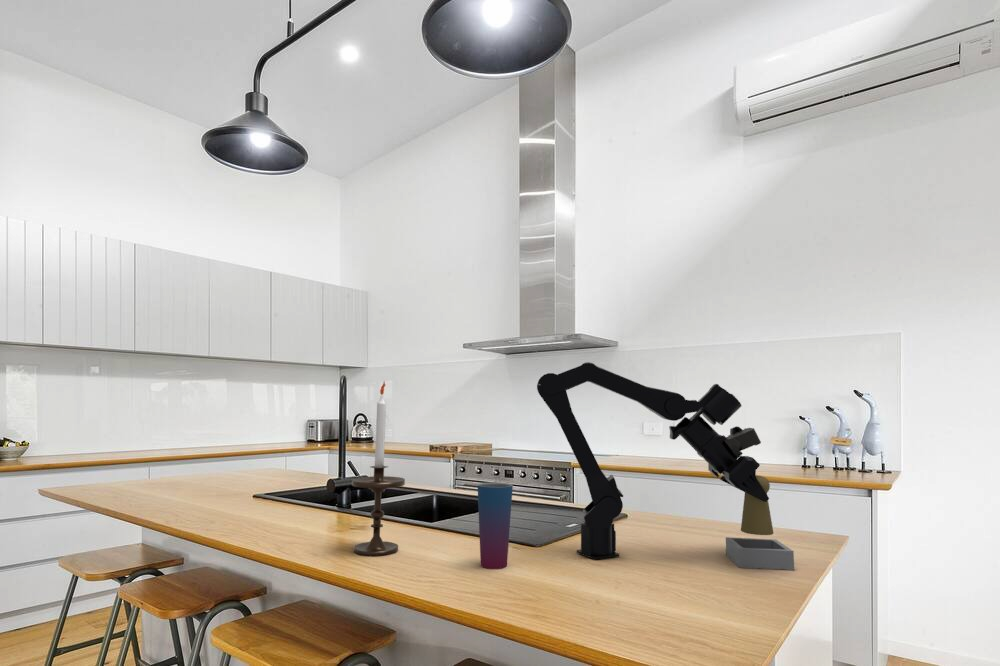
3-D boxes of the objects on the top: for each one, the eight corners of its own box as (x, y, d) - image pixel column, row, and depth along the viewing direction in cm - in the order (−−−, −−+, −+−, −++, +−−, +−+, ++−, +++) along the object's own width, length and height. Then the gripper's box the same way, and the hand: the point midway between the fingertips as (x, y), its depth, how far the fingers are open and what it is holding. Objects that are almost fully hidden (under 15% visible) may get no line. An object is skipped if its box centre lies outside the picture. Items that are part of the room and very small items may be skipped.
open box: (739, 567, 114) (738, 548, 115) (726, 554, 124) (725, 537, 124) (794, 570, 113) (793, 551, 113) (776, 556, 123) (775, 539, 123)
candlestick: (412, 552, 122) (417, 381, 126) (362, 560, 115) (369, 379, 119) (387, 542, 130) (393, 382, 134) (340, 549, 124) (348, 380, 128)
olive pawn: (778, 535, 116) (777, 477, 117) (747, 534, 116) (746, 477, 118) (765, 529, 122) (764, 474, 123) (736, 528, 122) (734, 473, 124)
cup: (477, 560, 117) (478, 482, 118) (511, 561, 116) (512, 482, 118) (474, 569, 110) (476, 486, 112) (511, 570, 110) (512, 487, 111)
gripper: (746, 414, 113) (810, 476, 110) (722, 413, 132) (776, 465, 129) (704, 455, 113) (766, 517, 111) (686, 448, 132) (739, 501, 129)
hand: (763, 498), depth 120 cm, fingers closed on olive pawn, 5 cm apart
